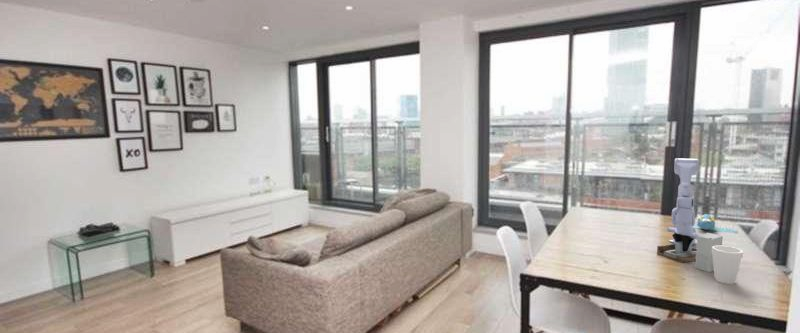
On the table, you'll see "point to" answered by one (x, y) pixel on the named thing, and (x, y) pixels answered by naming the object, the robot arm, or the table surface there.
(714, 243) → the skincare box
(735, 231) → the blue toy animal
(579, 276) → the table surface
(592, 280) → the table surface
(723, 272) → the foam cup
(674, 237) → the robot arm
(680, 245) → the door panel
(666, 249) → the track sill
